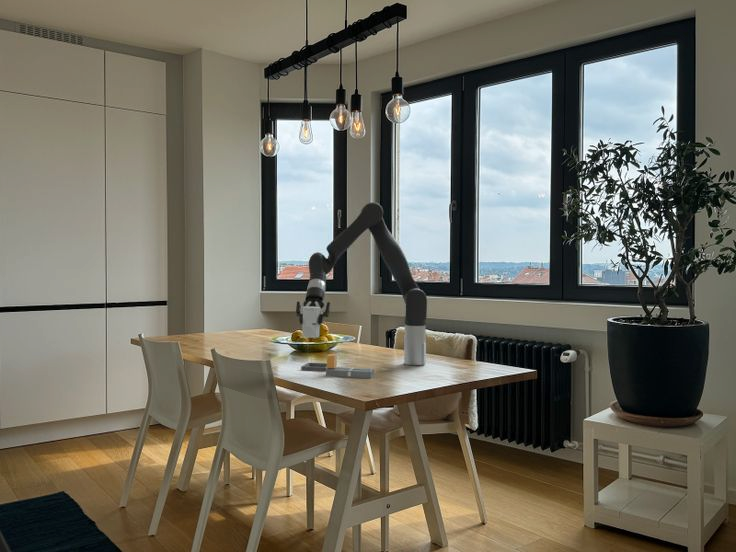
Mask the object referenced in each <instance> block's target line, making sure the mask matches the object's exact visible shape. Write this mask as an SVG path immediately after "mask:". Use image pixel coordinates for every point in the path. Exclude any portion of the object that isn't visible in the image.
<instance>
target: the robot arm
mask: <svg viewBox="0 0 736 552" xmlns="http://www.w3.org/2000/svg"><path fill="white" fill-rule="evenodd" d="M360 210H361V211H360V213H359V215H358V216H357V217H356V219H354V221H353V222H351V224H350V225H349V226H348V227H346V228H345V229H343V230H342V231H341V232H340V234H338V235H337V236H336V237H334V239H333V240H332V241H331V242H330V243H329V244H328V245H327V246H326V251H327V254H328V256H327V257H326V256H325V255H324V254H323V253H322V252H319V251H317V252H314V253H313V254H312V255H311V256H310V258H309V261H308V271H309V281H308V285H307V289H306V293H305V300H304V302H300V301H299V300H298V301H297V302H296V307H295V313H296V316H297V317H299V320H298V321H299V324H300V325H301V326H302V325H303V307H306V306H309V307H320V315H319V321H318V323H319V325H320V326H321V325H322V324H323V322H324V318H325V317H326V318H328V317H329V315H330V312H331V302H329V301H328V302H324V300H325V296H326V295H325V294H326V286H327V285H326V284H327V275H328V274H330V273H331V272H332V270H333V269H334V267H335V265H336V264H337V261H338V260H339V259H340V257H341V256H342V255H343V254H344V253H345V252H346V251H347V250H348V249H349V248H350V247H351V246H352V245H353V244H354V243H355V242H356V241H357V239H358V238H359V237H360V236H361V235H362V234H363V233H364V232H366V230H369V232H370V234H371V235H372V238H373V240H374V242H375V244H376V246H377V249H378V252H379V253H380V257H381V258H382V260H383V261H384V263H385V266H386V268H387V269H388V271H389V272H390V274H391V276H392V277H393V279H394V281H395V282H396V284H397V286H398V288H399V290H400V292H401V295H402V299H403V302H404V304H405V316H404V337H403V338H404V343H403V344H404V349H403V351H404V352H403V360H404V361H403V363H404V364H405V365H407V366H409V365H410V366H425V365H426V363H427V342H426V327H427V326H426V325H427V324H426V323H427V322H426V321H427V314H428V313H427V311H428V299H427V298H428V297H427V294H426V293H425V291H424V290H422V289H420V287H419V285H418V284H417V283H416V281H415V279H414V277H413V275H412V273H411V270H410V266H409V262H408V260H407V257H406V255H405V253H404V252H403V249H402V247H401V246H400V244H399V243H398V241H397V239H396V238H395V237H394V236H393V235H392V233H391V232H390V230H389V229H388V227H387V225H386V223H385V220H384V218H383V216H384V210H383V206H382V205H380V204H379V203H378V202H368V203H366V204H365V205H364V206H363V207H362V208H361V209H360ZM323 308H325V310H324V312H323V310H322V309H323ZM301 309H302V310H301Z"/></svg>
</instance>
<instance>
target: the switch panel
mask: <svg viewBox="0 0 736 552" xmlns="http://www.w3.org/2000/svg"><path fill="white" fill-rule="evenodd" d="M374 376H375V368H366V367H365V368H362V367H340V366H337V367H336V368H328V369H326V371H325V377H336V378H337V377H338V378H339V377H340V378H359V379H360V378H361V379H372V378H373V377H374Z"/></svg>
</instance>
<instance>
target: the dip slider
mask: <svg viewBox="0 0 736 552" xmlns="http://www.w3.org/2000/svg"><path fill="white" fill-rule="evenodd" d="M337 356H338V354H337V353H336V354H335V353H329V354H327V355H326V363H327V368H336V367H338V364H337V363H338V357H337Z"/></svg>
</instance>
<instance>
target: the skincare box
mask: <svg viewBox="0 0 736 552" xmlns="http://www.w3.org/2000/svg"><path fill="white" fill-rule="evenodd" d="M302 310H303V325H301V326H302V330H301V331H302V332H301V336H302V338H312V339H313V338H314V339H315V338H319V337H320V330H321V329H320V328H321V325H319V323H318V321H319V315H320V307H309V306H306V307H304V306H302Z"/></svg>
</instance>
